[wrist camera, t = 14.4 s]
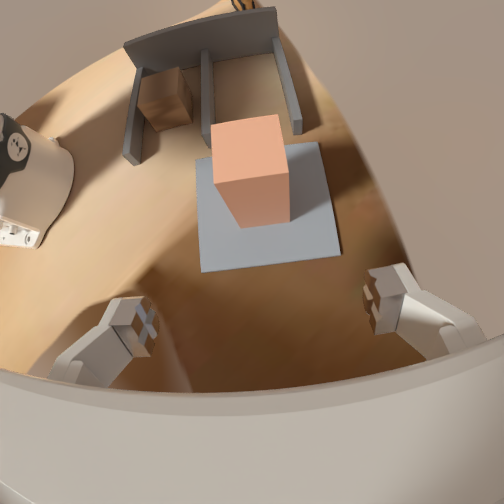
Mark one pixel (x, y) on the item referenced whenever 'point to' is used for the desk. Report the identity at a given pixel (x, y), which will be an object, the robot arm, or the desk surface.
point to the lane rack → (205, 63)
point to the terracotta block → (252, 170)
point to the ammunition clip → (243, 4)
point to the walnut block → (165, 100)
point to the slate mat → (276, 235)
